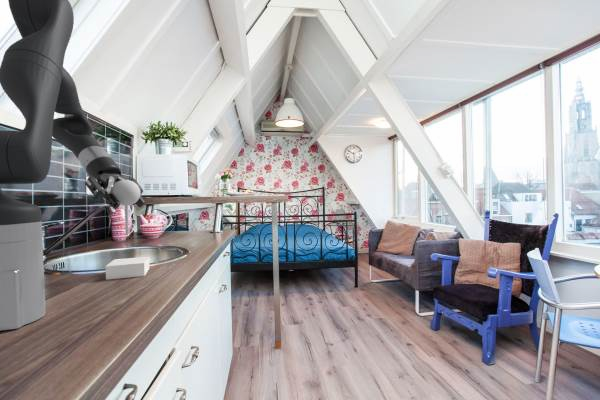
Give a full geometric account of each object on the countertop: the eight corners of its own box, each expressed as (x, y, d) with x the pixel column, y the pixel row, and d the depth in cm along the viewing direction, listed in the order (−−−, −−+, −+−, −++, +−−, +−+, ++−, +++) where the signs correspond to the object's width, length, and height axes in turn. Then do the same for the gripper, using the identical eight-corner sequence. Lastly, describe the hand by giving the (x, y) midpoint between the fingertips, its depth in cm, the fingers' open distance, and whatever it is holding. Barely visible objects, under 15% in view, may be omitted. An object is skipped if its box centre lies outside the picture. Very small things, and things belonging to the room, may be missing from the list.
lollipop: (116, 233, 86) (114, 180, 86) (144, 231, 89) (142, 180, 88) (108, 236, 80) (106, 179, 79) (139, 234, 82) (137, 179, 81)
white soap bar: (144, 275, 81) (144, 263, 81) (106, 279, 79) (105, 266, 78) (149, 268, 90) (149, 256, 90) (114, 271, 87) (114, 259, 87)
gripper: (79, 152, 80) (112, 196, 76) (128, 158, 93) (158, 195, 89) (67, 173, 82) (98, 217, 78) (116, 176, 95) (145, 213, 91)
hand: (130, 205), depth 83 cm, fingers closed on lollipop, 7 cm apart
